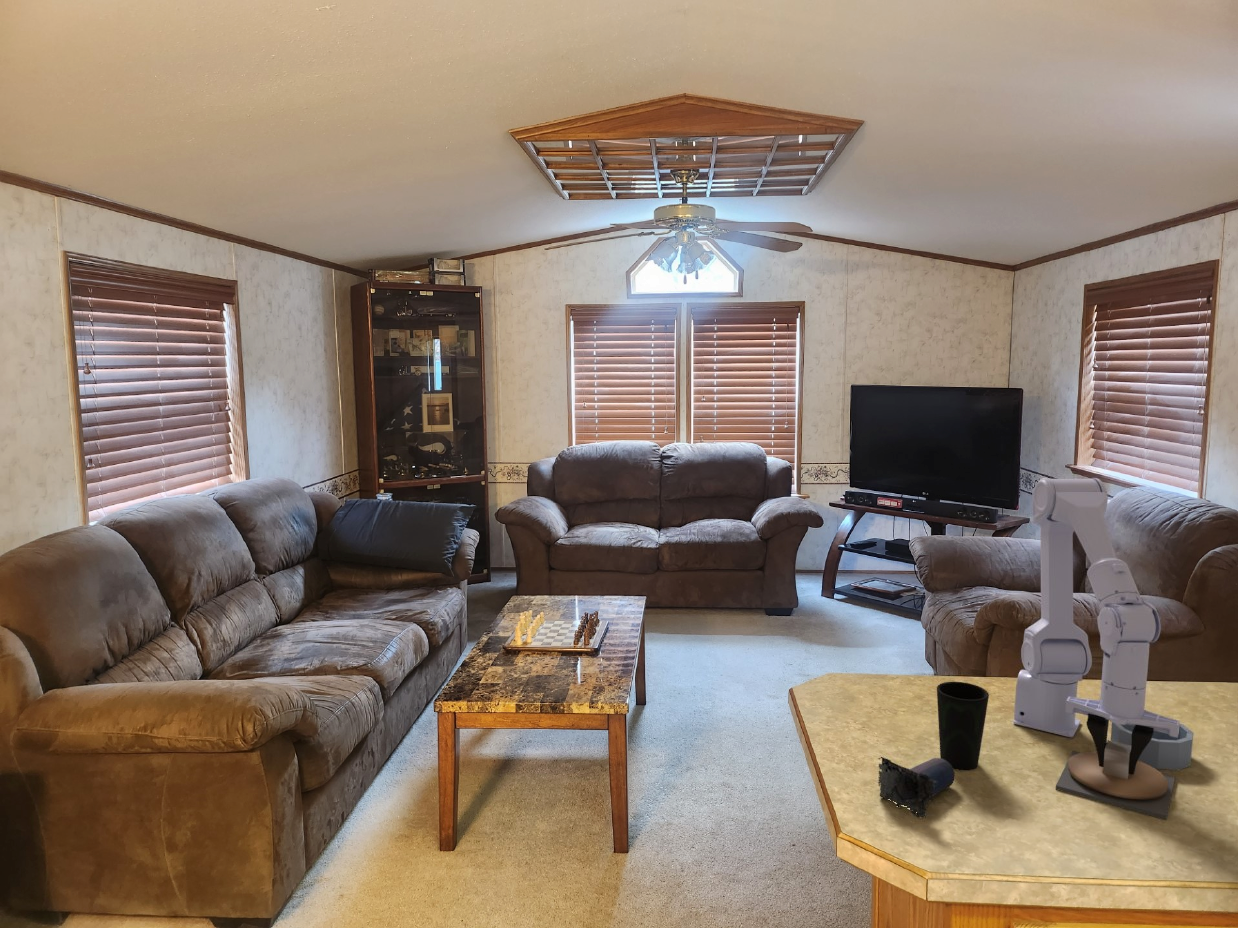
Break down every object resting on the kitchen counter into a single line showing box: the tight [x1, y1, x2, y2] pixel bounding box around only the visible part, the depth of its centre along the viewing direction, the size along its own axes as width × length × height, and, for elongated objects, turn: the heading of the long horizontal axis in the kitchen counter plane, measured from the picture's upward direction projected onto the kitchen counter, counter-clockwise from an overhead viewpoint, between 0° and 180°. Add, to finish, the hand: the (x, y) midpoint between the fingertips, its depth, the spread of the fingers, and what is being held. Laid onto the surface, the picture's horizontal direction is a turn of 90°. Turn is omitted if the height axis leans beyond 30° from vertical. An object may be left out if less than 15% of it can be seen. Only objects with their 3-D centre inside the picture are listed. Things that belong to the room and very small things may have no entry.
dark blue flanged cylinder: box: [877, 756, 956, 818], centre depth 125 cm, size 9×8×12 cm
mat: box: [1055, 750, 1176, 821], centre depth 128 cm, size 14×14×1 cm
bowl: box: [1110, 722, 1194, 771], centre depth 137 cm, size 11×11×4 cm
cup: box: [936, 681, 990, 772], centre depth 134 cm, size 8×8×12 cm
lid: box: [1067, 739, 1168, 800], centre depth 127 cm, size 13×13×5 cm
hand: (1116, 767), depth 127 cm, fingers closed on lid, 3 cm apart
